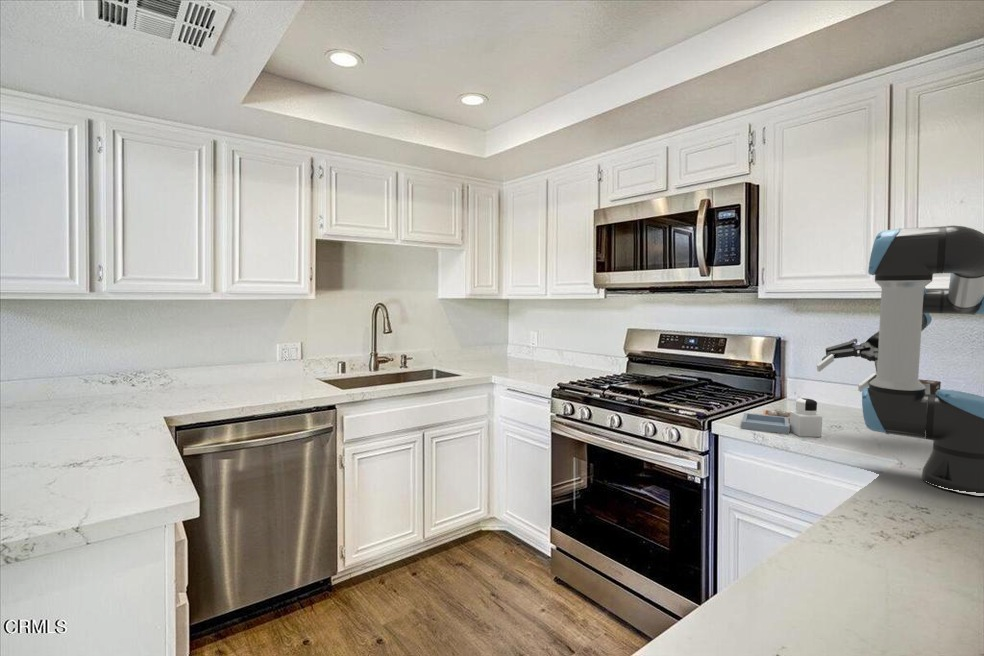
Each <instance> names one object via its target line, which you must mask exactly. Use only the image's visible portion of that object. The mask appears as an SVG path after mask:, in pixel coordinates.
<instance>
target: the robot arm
mask: <svg viewBox="0 0 984 656" xmlns="http://www.w3.org/2000/svg"><path fill="white" fill-rule="evenodd" d="M867 271H868V272H867V273H868V274H869V275H870V276H874V282H875V283H876V284H877V285H878V286H879V287H880V289H881V293H880V294H881V295H880V296H881V297H880V309H879V310H880V311H879V312H880V313H879V330H877V332H876V333H874V334H873V335H870V337H868V338H867V340H866V341H865V342H862V343H861V342H860V341H858V338H853V339H851V340H849V341H845V342H842V343H839V344H836V345H833V346H829V347H826V348H825V356H823V357H822V358H821V361H820V362H818V363H817V364H816V370H817V372H821V371H823V370H825V368H827V367H828V366H829V365H831V363H833V362H834V361H835V359H843V358H849V357H855V358H858V357H860V358H862V359H865V360H867V361H869V362H874V367H875V372H873V373H871V374H870V375H868V377H866V378H865V379H863V381H861V382H860V383H859V384H858V386H857V387H858V392H859V393H861V406H862V407H861V408H862V414H863V415H862V416H863V421H864V423H865V424H864V425H865V426H866V428H867V429H869V431H872V432H876V433H882V434H885V435H895V436H901V437H909V438H916V439H922V440H923V439H924V440H929V441H932V451H931V453H930V455H929V457H928V459H927V460H926V463H924V466H923V467H922V471H921V479H922V480H923V479H924V480H925V481H927V482H929V483H931V484H934V485H937V486H941V487H944V488H948V489H953V490H959V491H966V492H976V493H984V396H982V395H978V394H974V393H970V392H965V391H964V392H963V391H958V390H953V389H946V388H945V389H943V388H942V389H941V388H940V390H937V392H936V395H931V394H925V386H924V385H923V384H922V383H921V382H920V381H919V371H920V360H921V359H920V357H921V343H922V340H921V339H922V332H923V331H924V330H925V329H926V328H927V327H928V326H929V325H930V324H931V322H932V315H930V314H942V315H943V314H946V315H947V314H949V315H950V314H951V315H971V316H972V315H973V316H974V315H984V233H983V232H981V231H980V230H977V229H975V228H971V227H967V226H962V225H946V226H944V225H943V226H927V227H925V226H924V227H905V228H904V227H903V228H894V229H893V228H892V229H887V230H886V229H885V230H882V231H879V232H878V233H877V235H876V236H875V238H874V240H873V244H872V248H871V253H870V257H869V262H868V270H867ZM934 274H950V275H949V276H950V277H949V285H948V288H927V287H926V286H928V285H929V284H930V283H933V278H934V277H933V275H934ZM858 351H859V352H858ZM927 400H928V404H927ZM924 480H923V481H924ZM925 481H924V482H925Z"/></svg>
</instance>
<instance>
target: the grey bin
mask: <svg viewBox="0 0 984 656" xmlns="http://www.w3.org/2000/svg"><path fill="white" fill-rule="evenodd" d="M789 425H790V423H789V420H788V417H779V416H770V415H763V414H759V413H748V412H743V415H742V420H741V429H742V430H750V431H751V430H752V431H758V432H765V431H766V433H773V432H777V433H776V434H782V433H785V434H784V435H789V434H790V431H789Z"/></svg>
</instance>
